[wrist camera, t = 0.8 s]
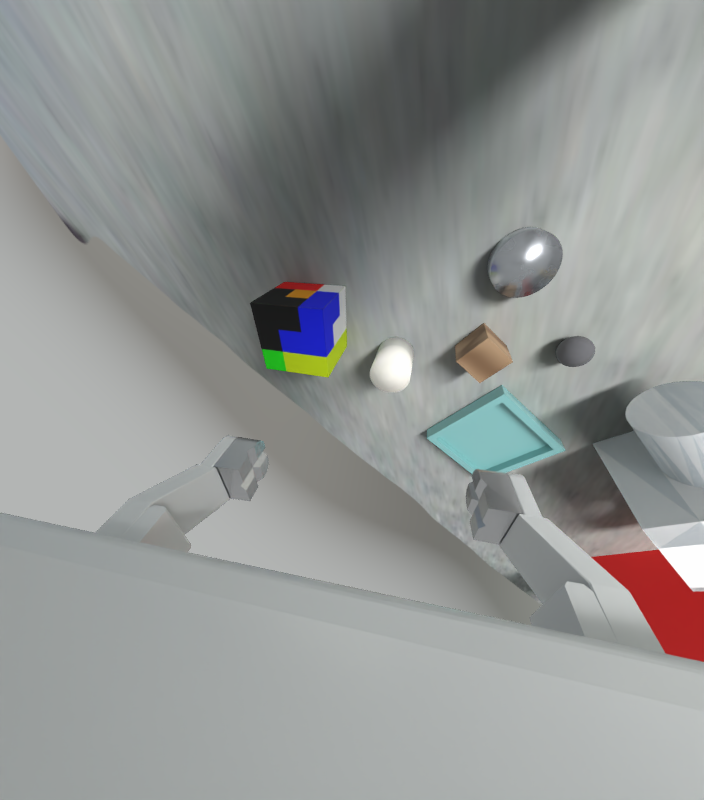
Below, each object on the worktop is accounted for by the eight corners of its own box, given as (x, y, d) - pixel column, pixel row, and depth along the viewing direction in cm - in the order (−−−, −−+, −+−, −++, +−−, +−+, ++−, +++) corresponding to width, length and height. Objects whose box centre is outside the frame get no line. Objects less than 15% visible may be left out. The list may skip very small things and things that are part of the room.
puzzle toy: (345, 285, 40) (322, 309, 32) (347, 346, 46) (328, 377, 38) (284, 281, 42) (250, 302, 34) (294, 339, 48) (266, 368, 41)
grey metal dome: (529, 211, 29) (537, 213, 27) (567, 256, 31) (576, 262, 29) (475, 264, 34) (477, 270, 32) (510, 301, 35) (514, 309, 33)
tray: (501, 385, 43) (504, 393, 41) (560, 440, 46) (565, 450, 45) (427, 429, 53) (426, 438, 51) (480, 472, 56) (481, 481, 55)
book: (587, 573, 69) (664, 779, 45) (571, 559, 67) (642, 766, 43) (747, 561, 52) (1004, 877, 28) (731, 541, 50) (993, 864, 26)
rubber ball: (576, 325, 35) (589, 338, 32) (594, 344, 36) (607, 359, 33) (545, 345, 37) (554, 359, 34) (562, 362, 38) (572, 377, 35)
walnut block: (483, 322, 38) (488, 337, 34) (506, 345, 39) (512, 362, 35) (454, 345, 41) (456, 361, 37) (476, 365, 42) (479, 383, 38)
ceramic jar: (394, 329, 42) (388, 350, 37) (421, 353, 43) (419, 377, 38) (371, 353, 46) (361, 375, 40) (396, 375, 47) (390, 398, 42)
